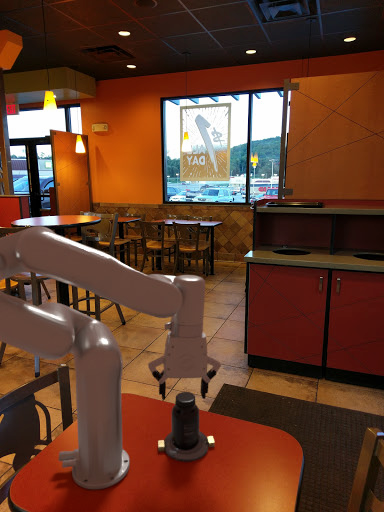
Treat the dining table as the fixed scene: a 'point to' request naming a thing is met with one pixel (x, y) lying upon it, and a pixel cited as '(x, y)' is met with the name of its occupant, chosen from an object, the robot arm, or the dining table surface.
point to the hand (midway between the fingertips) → (183, 396)
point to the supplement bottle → (185, 422)
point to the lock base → (186, 454)
